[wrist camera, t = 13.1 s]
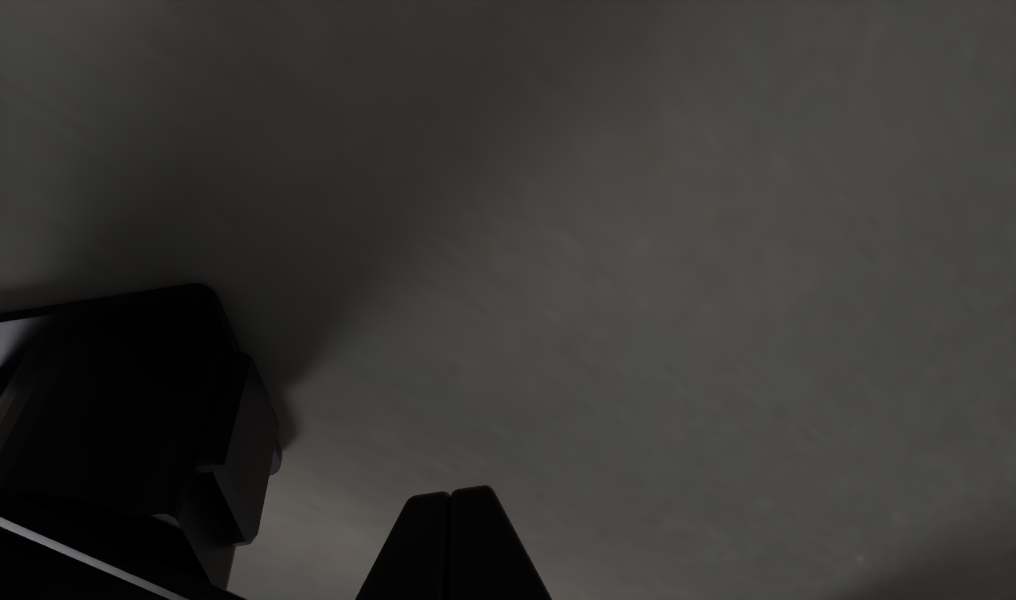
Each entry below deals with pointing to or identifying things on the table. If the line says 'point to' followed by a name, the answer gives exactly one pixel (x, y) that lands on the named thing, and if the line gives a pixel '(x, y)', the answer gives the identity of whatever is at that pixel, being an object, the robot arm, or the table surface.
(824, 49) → the table surface
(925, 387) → the table surface
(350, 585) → the table surface
